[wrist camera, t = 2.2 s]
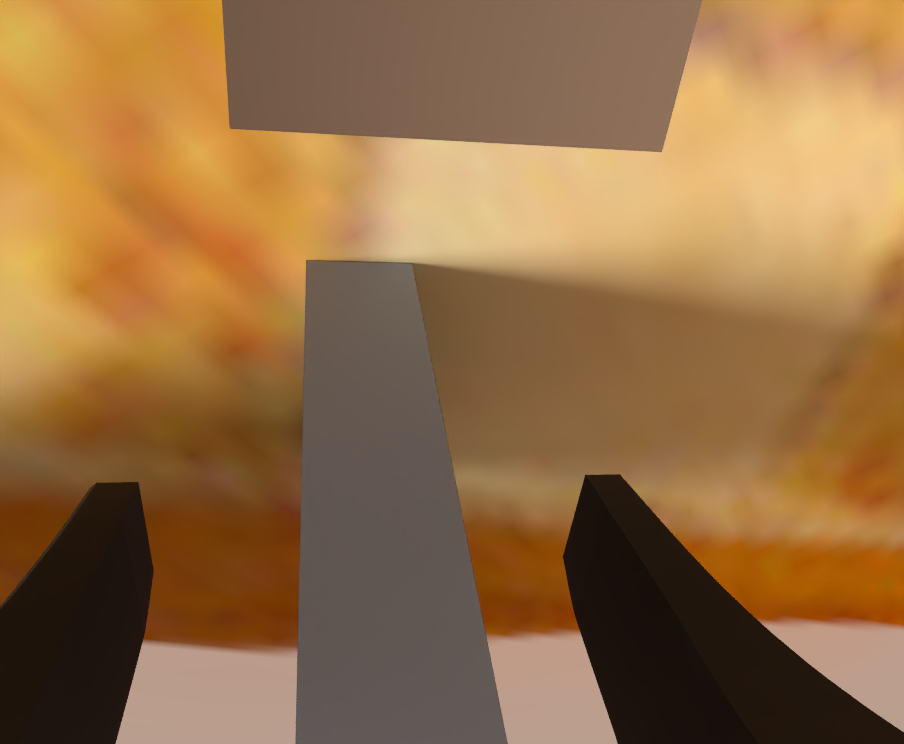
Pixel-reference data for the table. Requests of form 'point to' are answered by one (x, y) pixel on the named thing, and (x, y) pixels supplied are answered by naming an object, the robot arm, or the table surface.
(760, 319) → the table surface
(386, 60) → the domino
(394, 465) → the domino
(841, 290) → the table surface
